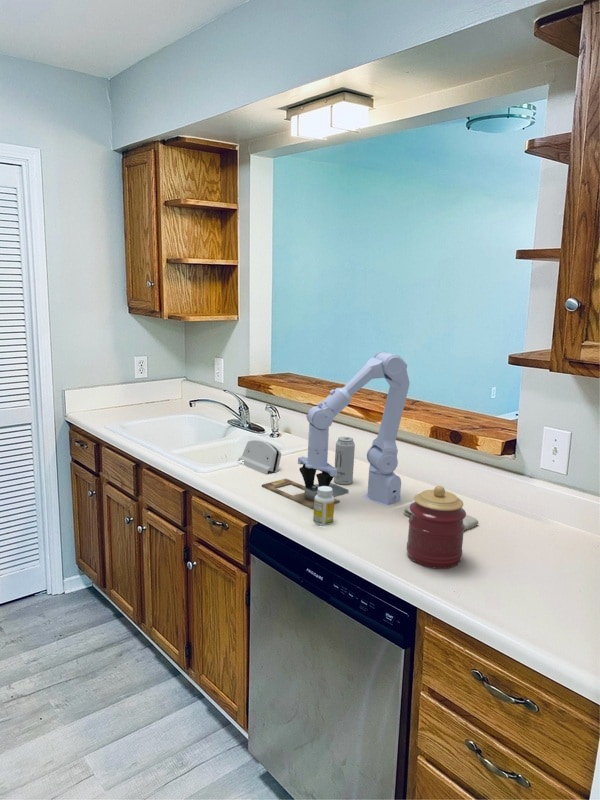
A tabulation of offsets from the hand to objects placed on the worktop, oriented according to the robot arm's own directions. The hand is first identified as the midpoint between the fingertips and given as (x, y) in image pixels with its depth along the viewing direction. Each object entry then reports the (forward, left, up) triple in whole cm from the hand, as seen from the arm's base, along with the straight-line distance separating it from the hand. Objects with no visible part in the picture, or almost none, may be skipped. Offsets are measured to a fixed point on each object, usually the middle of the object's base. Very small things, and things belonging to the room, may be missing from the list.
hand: (315, 493), depth 170 cm
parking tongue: (+3, -9, -3) cm, 10 cm away
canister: (-42, +1, -3) cm, 42 cm away
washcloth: (-30, -19, -4) cm, 36 cm away
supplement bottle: (-11, +8, -3) cm, 14 cm away
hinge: (+37, -8, -3) cm, 38 cm away
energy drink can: (+7, -19, -3) cm, 20 cm away
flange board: (+7, 0, -3) cm, 8 cm away
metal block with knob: (0, 0, -2) cm, 2 cm away
